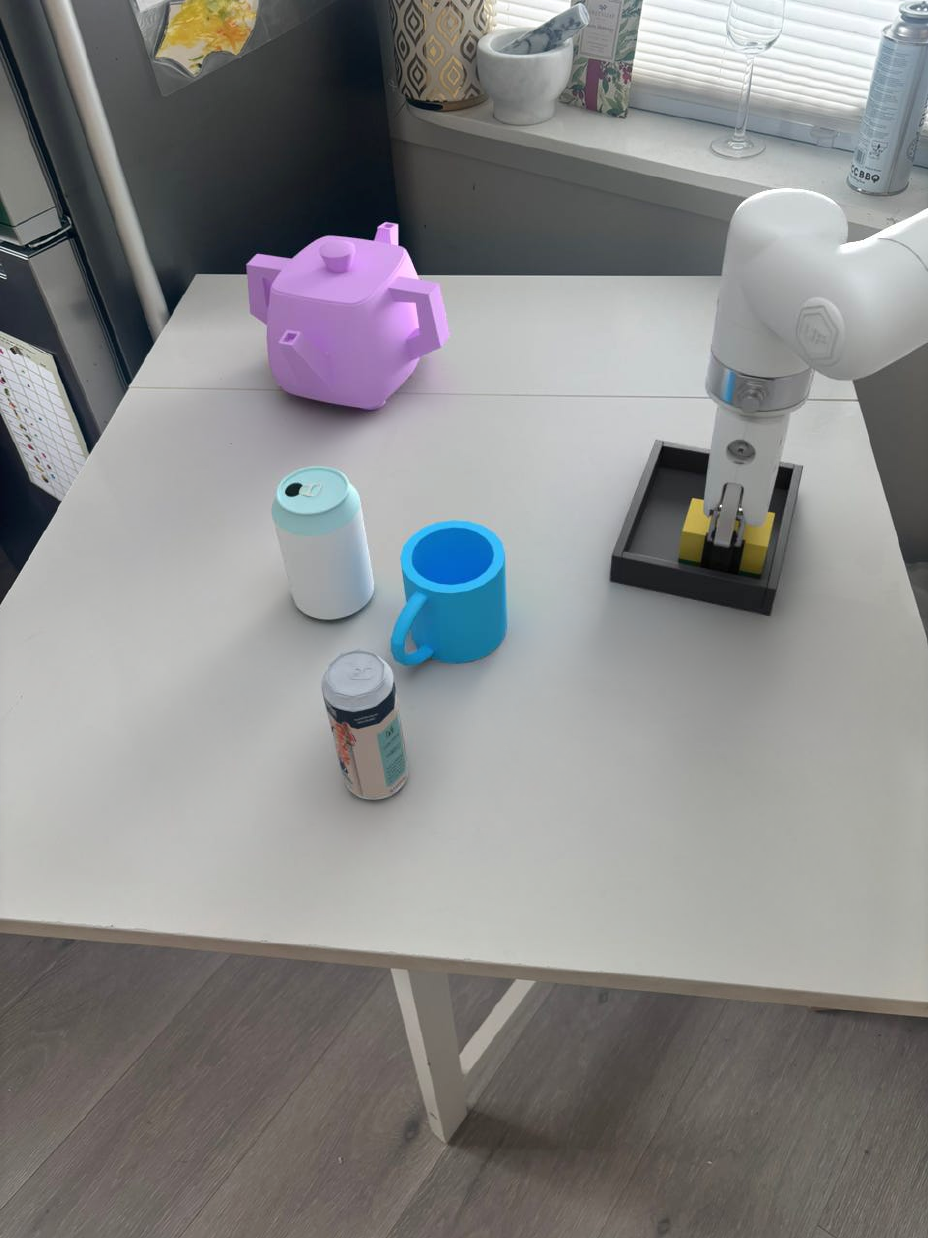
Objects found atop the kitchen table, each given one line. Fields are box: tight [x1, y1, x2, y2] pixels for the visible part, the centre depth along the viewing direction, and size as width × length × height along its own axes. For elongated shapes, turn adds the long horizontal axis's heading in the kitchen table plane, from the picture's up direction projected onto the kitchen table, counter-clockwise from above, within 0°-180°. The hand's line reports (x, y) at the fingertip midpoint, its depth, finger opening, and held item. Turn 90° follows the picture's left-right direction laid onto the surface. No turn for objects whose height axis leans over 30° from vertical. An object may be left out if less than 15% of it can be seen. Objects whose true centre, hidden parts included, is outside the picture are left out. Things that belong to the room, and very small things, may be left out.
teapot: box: [245, 221, 451, 411], centre depth 103 cm, size 19×18×15 cm
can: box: [271, 465, 375, 620], centre depth 82 cm, size 7×7×12 cm
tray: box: [609, 439, 804, 617], centre depth 88 cm, size 14×17×3 cm
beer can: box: [320, 648, 409, 801], centre depth 69 cm, size 5×5×12 cm
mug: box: [390, 519, 508, 667], centre depth 79 cm, size 12×8×8 cm
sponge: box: [678, 498, 775, 580], centre depth 85 cm, size 7×4×4 cm, turn 70°
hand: (724, 550), depth 86 cm, fingers closed on sponge, 4 cm apart
